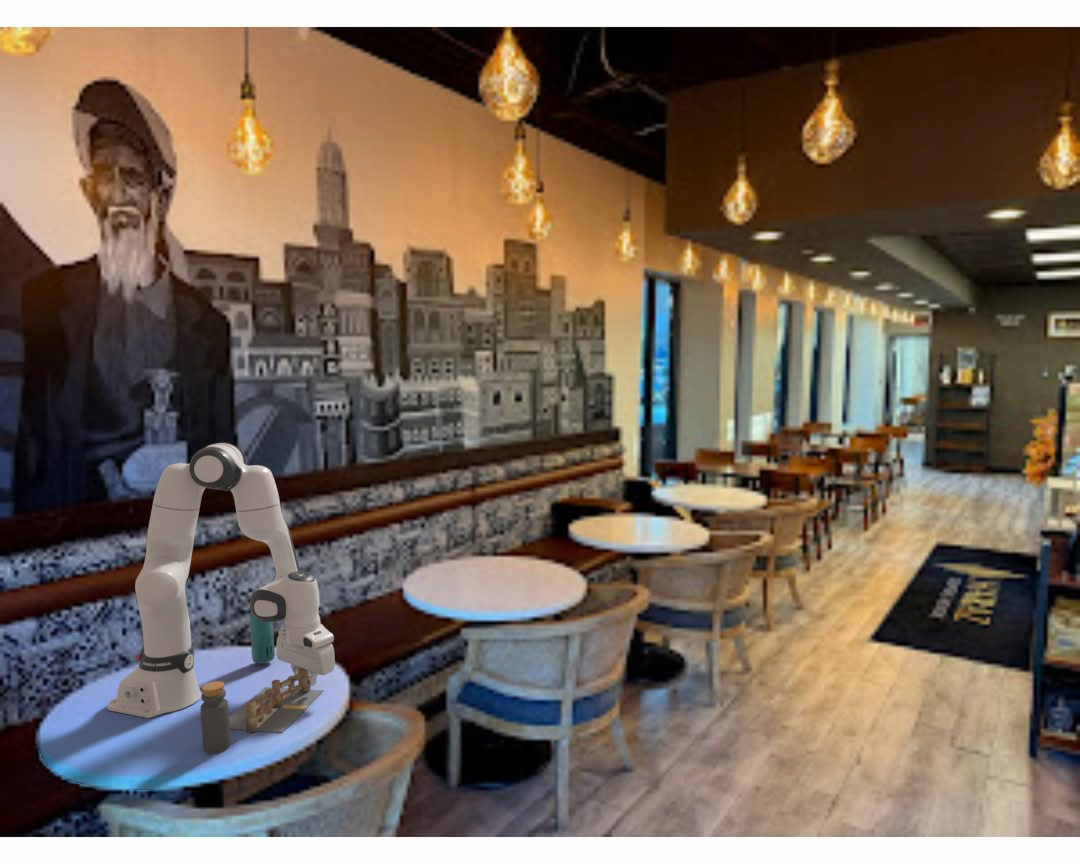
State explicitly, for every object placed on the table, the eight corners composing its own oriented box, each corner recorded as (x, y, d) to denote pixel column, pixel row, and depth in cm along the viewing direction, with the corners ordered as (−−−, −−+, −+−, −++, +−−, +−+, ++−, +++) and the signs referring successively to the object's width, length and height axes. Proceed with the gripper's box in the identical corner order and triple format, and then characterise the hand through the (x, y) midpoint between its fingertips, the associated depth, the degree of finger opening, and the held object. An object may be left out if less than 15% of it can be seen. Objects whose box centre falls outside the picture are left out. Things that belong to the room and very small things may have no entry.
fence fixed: (244, 731, 172) (242, 705, 172) (274, 704, 186) (273, 679, 186) (253, 732, 172) (252, 705, 171) (283, 704, 186) (282, 679, 185)
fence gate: (277, 700, 187) (276, 675, 186) (305, 685, 195) (303, 662, 195) (285, 703, 186) (284, 677, 185) (313, 688, 194) (311, 664, 193)
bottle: (229, 751, 164) (225, 689, 163) (201, 756, 163) (197, 693, 161) (232, 739, 170) (228, 678, 168) (205, 743, 168) (201, 682, 167)
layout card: (217, 728, 175) (217, 727, 175) (265, 688, 196) (265, 686, 196) (282, 732, 172) (282, 731, 172) (323, 691, 194) (323, 689, 194)
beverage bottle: (267, 669, 209) (263, 602, 207) (247, 667, 210) (243, 601, 208) (280, 660, 215) (276, 595, 213) (260, 658, 216) (256, 594, 214)
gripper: (269, 628, 195) (271, 677, 196) (318, 644, 183) (320, 696, 185) (288, 621, 200) (290, 668, 201) (338, 636, 188) (339, 686, 190)
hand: (305, 682), depth 193 cm, fingers open, 4 cm apart
